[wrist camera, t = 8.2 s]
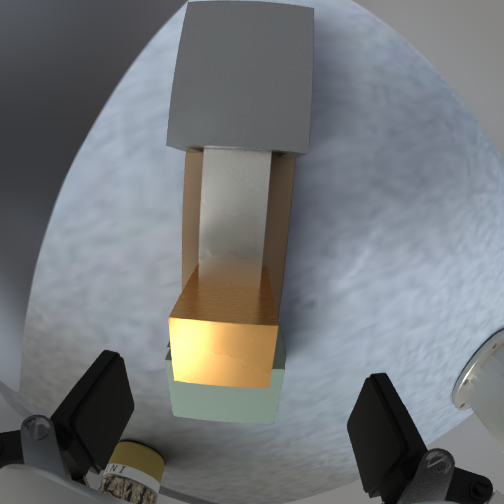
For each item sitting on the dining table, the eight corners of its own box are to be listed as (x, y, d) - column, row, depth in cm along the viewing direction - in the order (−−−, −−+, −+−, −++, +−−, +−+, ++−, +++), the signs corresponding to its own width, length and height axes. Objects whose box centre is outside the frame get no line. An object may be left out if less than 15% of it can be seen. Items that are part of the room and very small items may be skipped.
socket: (280, 324, 19) (288, 369, 14) (272, 376, 20) (277, 423, 15) (180, 316, 19) (161, 359, 14) (183, 370, 20) (170, 415, 15)
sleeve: (298, 44, 14) (313, 8, 9) (291, 159, 16) (308, 153, 11) (202, 39, 14) (188, 2, 9) (189, 152, 16) (166, 145, 11)
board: (298, 52, 15) (301, 45, 14) (268, 367, 21) (269, 376, 20) (202, 46, 15) (199, 39, 14) (188, 361, 21) (186, 370, 20)
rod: (278, 144, 15) (299, 124, 9) (257, 364, 20) (260, 437, 13) (203, 140, 15) (172, 117, 9) (198, 360, 19) (181, 431, 13)
